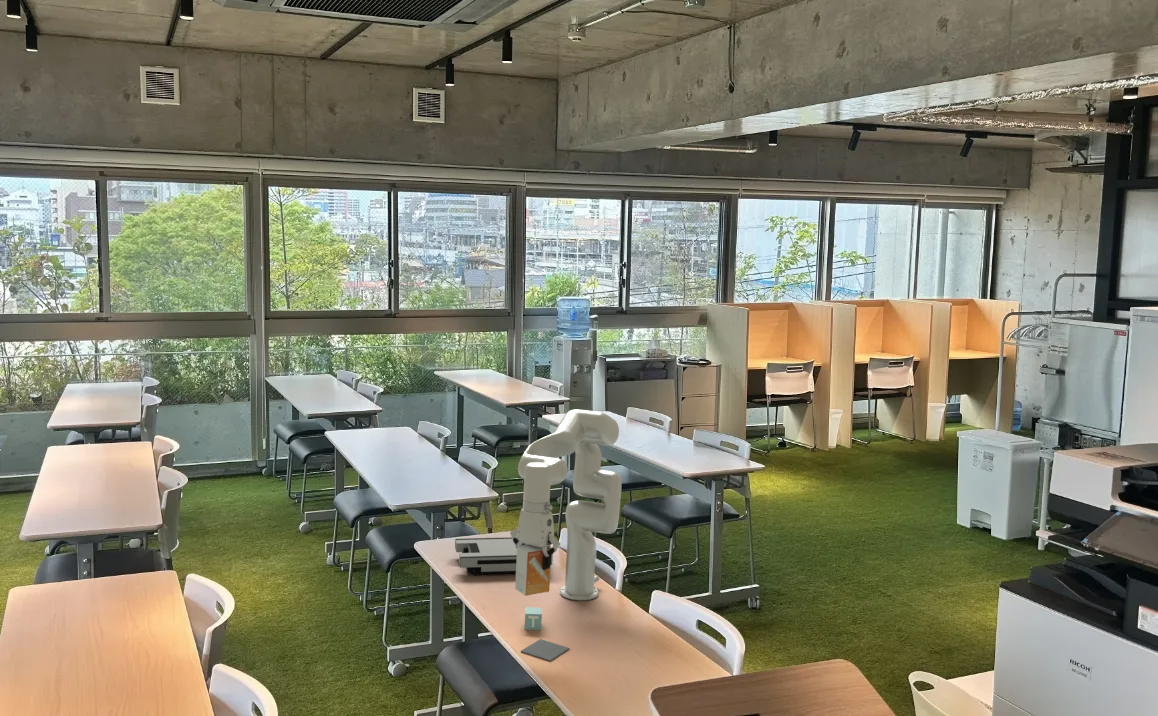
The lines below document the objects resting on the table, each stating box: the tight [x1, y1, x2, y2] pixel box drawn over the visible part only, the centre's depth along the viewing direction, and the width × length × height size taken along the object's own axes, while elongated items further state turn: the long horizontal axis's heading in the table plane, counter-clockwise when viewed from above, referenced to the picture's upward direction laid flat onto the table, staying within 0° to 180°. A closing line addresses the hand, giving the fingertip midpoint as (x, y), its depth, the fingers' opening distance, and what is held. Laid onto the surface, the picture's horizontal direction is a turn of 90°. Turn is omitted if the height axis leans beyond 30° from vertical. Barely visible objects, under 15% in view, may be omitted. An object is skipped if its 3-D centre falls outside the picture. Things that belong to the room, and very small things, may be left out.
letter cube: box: [524, 606, 543, 631], centre depth 290 cm, size 5×5×5 cm
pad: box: [520, 638, 570, 662], centre depth 274 cm, size 10×10×1 cm
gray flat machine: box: [454, 536, 554, 577], centre depth 342 cm, size 21×32×8 cm, turn 102°
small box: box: [514, 544, 552, 597], centre depth 275 cm, size 8×6×13 cm
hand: (533, 564), depth 275 cm, fingers closed on small box, 8 cm apart
